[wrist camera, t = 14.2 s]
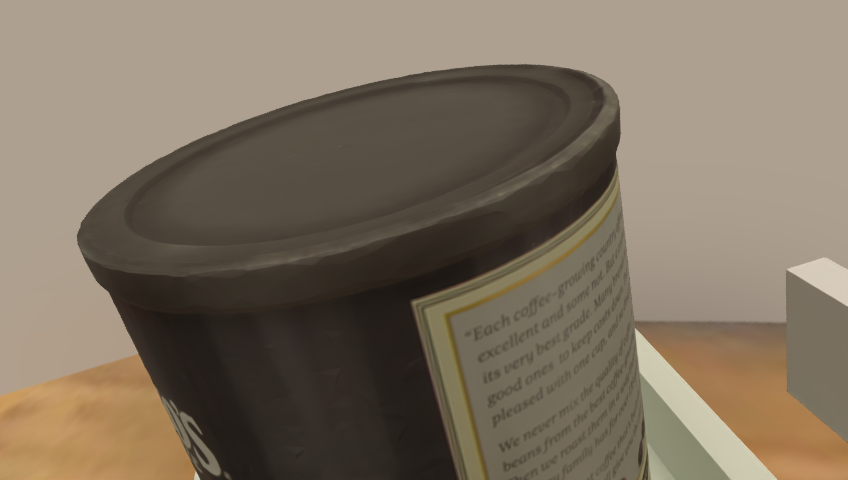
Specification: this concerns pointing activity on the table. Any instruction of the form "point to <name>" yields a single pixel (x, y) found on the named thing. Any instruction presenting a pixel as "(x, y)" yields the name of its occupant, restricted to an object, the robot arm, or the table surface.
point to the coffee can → (390, 284)
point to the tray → (686, 429)
